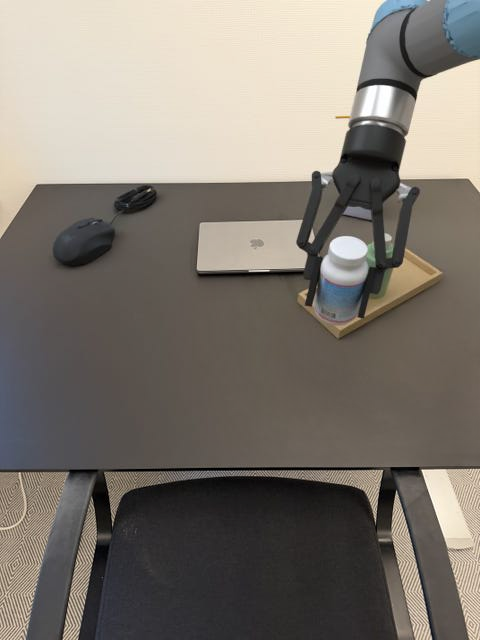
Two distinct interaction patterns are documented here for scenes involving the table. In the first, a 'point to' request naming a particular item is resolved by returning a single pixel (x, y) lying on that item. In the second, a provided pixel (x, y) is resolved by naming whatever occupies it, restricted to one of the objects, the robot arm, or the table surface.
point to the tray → (387, 292)
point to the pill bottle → (341, 281)
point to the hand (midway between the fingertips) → (334, 311)
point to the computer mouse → (96, 230)
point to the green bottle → (371, 263)
